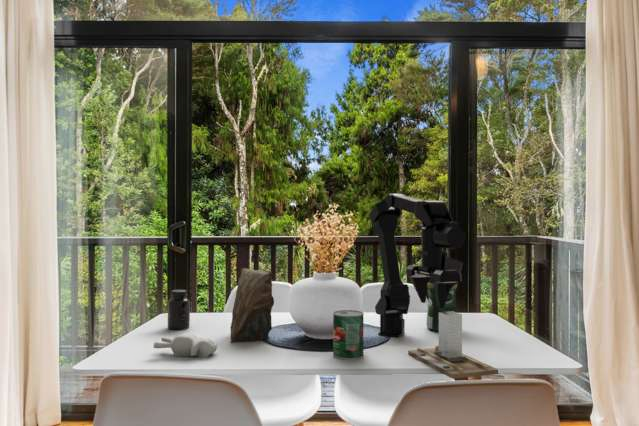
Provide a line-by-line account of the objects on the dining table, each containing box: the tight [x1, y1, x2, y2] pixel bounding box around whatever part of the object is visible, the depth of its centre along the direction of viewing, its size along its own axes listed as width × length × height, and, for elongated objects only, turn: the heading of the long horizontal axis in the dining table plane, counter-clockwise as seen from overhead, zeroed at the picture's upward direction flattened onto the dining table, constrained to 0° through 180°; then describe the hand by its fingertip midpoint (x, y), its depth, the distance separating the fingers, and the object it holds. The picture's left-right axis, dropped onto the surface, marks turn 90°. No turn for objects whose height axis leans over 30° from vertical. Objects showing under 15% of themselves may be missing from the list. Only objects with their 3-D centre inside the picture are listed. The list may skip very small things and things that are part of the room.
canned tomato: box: [332, 309, 365, 361], centre depth 132 cm, size 8×8×11 cm
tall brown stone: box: [230, 267, 275, 344], centre depth 151 cm, size 13×13×20 cm
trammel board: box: [407, 344, 499, 380], centre depth 125 cm, size 21×12×3 cm, turn 18°
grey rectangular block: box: [434, 311, 466, 362], centre depth 124 cm, size 6×7×11 cm
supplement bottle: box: [167, 289, 191, 331], centre depth 163 cm, size 7×7×12 cm
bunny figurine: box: [153, 333, 218, 358], centre depth 132 cm, size 10×5×15 cm
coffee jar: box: [426, 276, 459, 332], centre depth 163 cm, size 10×8×19 cm
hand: (432, 305), depth 137 cm, fingers open, 9 cm apart
